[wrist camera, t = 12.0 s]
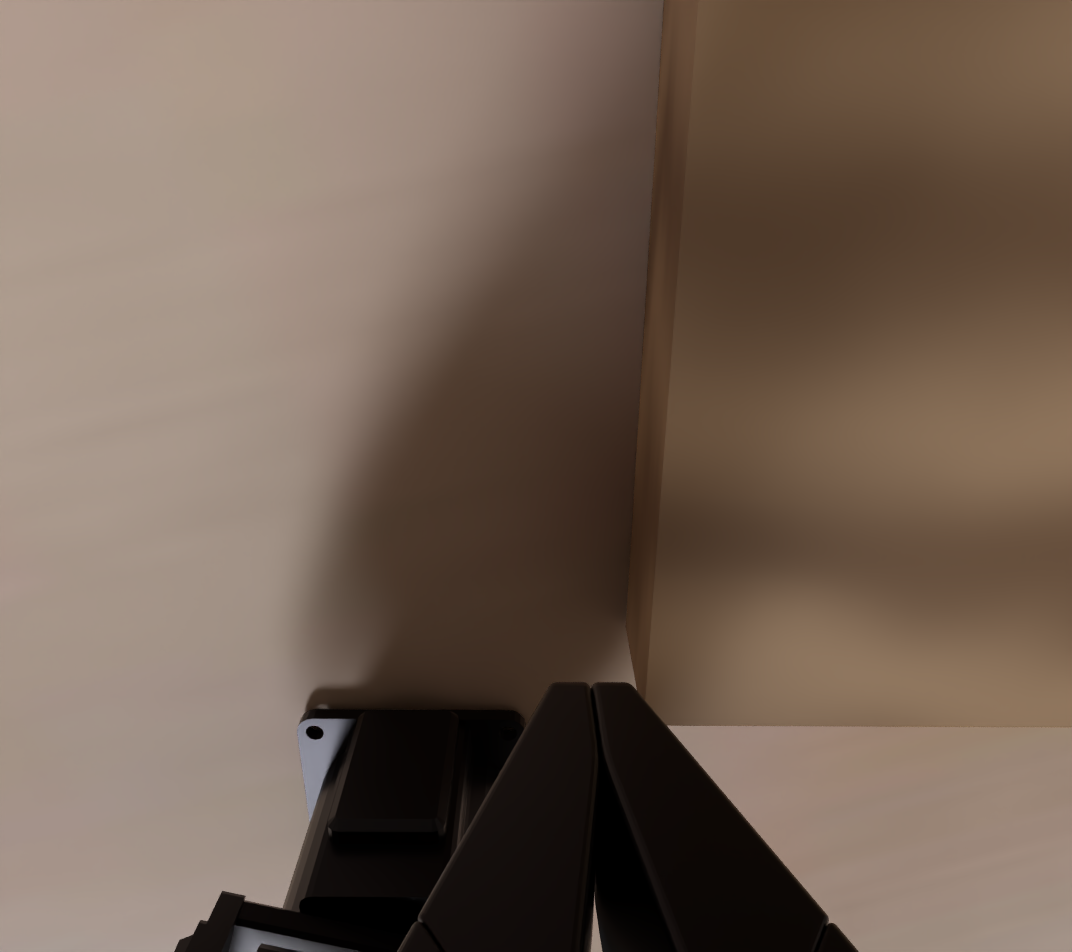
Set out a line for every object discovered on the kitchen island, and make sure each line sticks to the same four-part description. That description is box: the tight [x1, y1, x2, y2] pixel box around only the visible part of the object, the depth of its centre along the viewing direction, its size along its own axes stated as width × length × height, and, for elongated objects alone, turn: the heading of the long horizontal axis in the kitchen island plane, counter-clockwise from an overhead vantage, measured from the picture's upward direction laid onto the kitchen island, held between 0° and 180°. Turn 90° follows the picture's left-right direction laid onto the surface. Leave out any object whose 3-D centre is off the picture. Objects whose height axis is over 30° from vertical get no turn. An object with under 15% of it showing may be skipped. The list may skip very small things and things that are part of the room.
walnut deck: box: [626, 0, 1072, 727], centre depth 16 cm, size 22×14×4 cm, turn 0°
